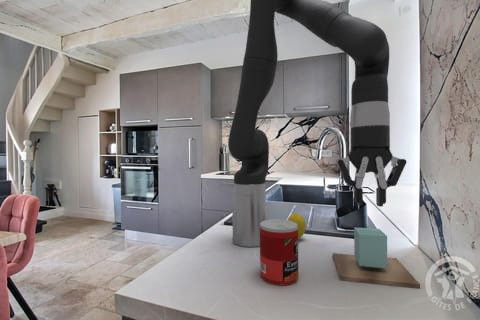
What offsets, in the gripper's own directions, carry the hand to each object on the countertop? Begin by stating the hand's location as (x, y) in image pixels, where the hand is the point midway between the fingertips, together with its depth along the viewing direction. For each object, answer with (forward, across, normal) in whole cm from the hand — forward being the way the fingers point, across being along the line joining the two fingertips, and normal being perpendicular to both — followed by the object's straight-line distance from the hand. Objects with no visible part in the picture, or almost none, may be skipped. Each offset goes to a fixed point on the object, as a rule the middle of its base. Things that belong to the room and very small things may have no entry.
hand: (369, 205), depth 53 cm
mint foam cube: (+12, 0, 0) cm, 12 cm away
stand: (+14, 0, 0) cm, 14 cm away
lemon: (+14, -16, +17) cm, 27 cm away
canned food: (+14, -19, -7) cm, 25 cm away
